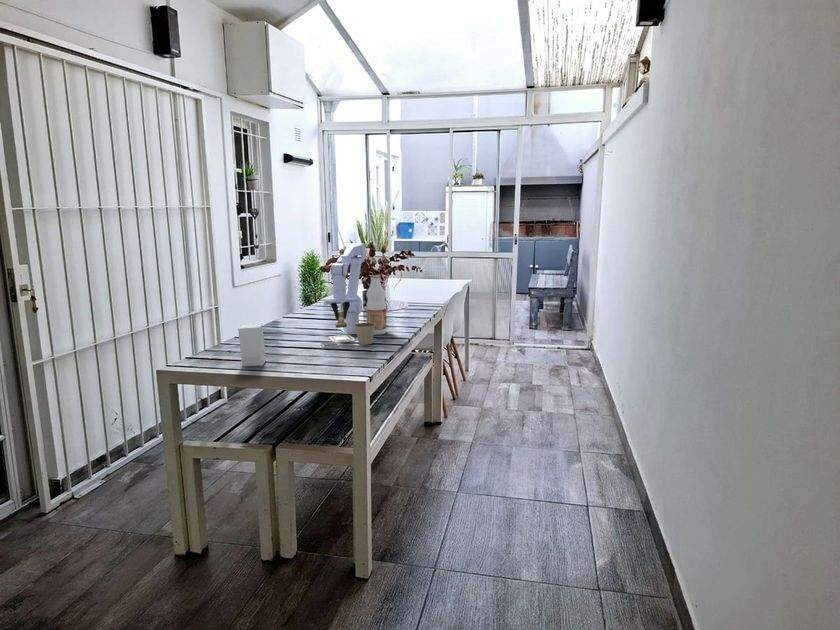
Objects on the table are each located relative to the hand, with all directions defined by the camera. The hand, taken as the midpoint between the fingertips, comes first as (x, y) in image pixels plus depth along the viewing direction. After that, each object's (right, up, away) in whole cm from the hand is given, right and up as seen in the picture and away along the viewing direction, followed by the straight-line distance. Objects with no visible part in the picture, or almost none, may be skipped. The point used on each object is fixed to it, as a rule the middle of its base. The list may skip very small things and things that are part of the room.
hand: (340, 318), depth 260 cm
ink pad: (-4, -12, -9) cm, 16 cm away
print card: (0, -10, +2) cm, 10 cm away
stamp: (0, -3, +1) cm, 4 cm away
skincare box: (-29, -18, -36) cm, 50 cm away
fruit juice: (+15, -7, +15) cm, 23 cm away
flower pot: (+12, -11, -5) cm, 17 cm away
